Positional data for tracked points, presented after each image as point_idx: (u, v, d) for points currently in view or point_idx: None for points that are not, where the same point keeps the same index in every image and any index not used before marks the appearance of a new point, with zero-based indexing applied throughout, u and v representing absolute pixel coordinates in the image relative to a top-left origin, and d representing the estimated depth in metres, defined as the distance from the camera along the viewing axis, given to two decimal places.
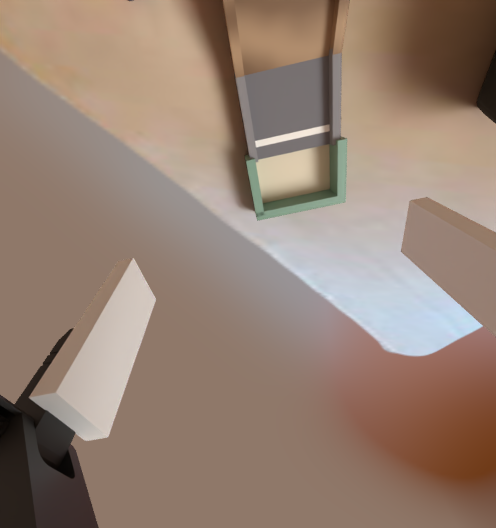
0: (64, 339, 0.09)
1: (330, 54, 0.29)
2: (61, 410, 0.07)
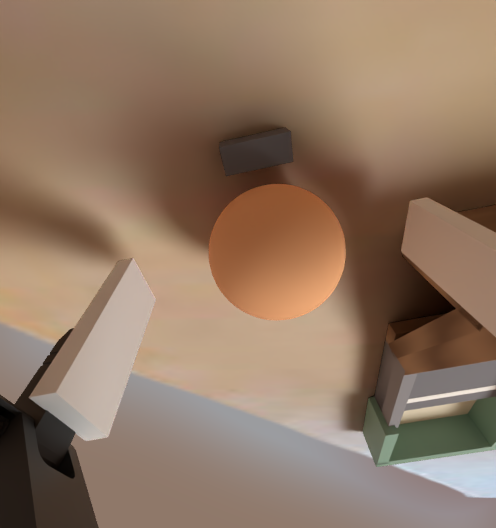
0: (64, 339, 0.09)
1: None
2: (61, 410, 0.07)
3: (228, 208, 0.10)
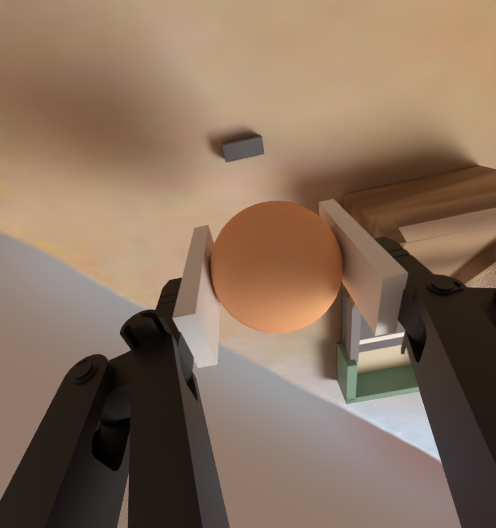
0: (168, 287, 0.11)
1: None
2: (192, 332, 0.08)
3: (229, 225, 0.11)
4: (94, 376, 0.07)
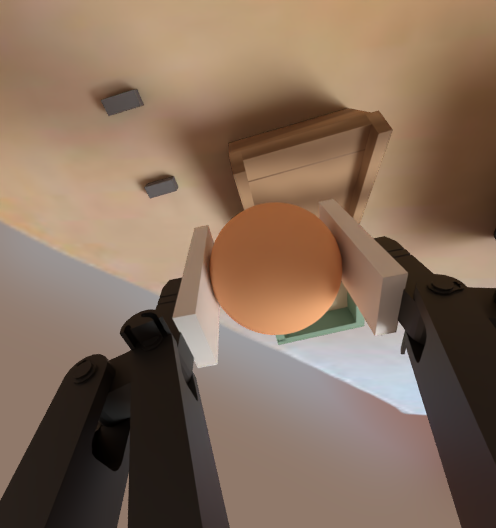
0: (168, 287, 0.11)
1: None
2: (192, 332, 0.08)
3: (228, 226, 0.10)
4: (94, 376, 0.07)
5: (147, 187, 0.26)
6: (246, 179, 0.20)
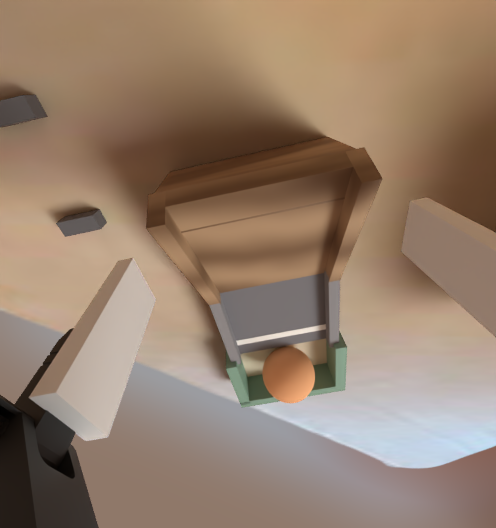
0: (64, 339, 0.09)
1: (326, 276, 0.23)
2: (61, 410, 0.07)
3: (275, 384, 0.27)
4: None
5: (60, 223, 0.20)
6: (169, 234, 0.14)
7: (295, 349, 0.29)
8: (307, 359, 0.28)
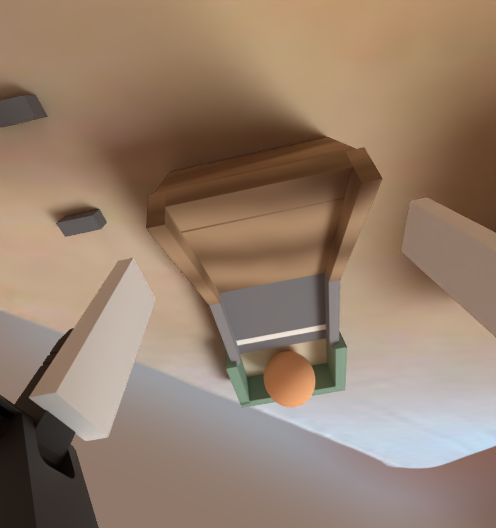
0: (64, 339, 0.09)
1: (326, 276, 0.23)
2: (61, 410, 0.07)
3: (278, 395, 0.27)
4: None
5: (60, 223, 0.20)
6: (169, 234, 0.14)
7: (297, 357, 0.29)
8: (309, 368, 0.29)
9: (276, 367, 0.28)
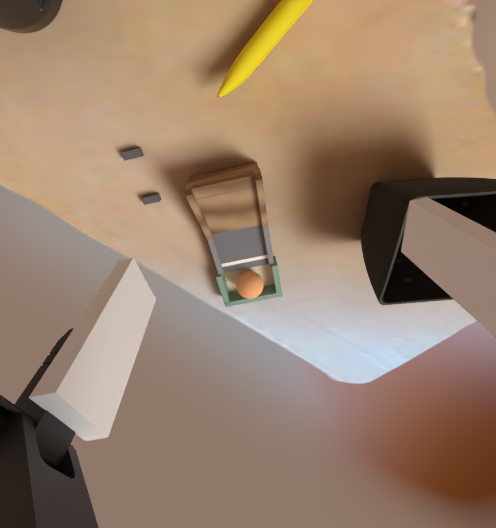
0: (64, 339, 0.09)
1: (262, 225, 0.49)
2: (61, 410, 0.07)
3: (242, 288, 0.53)
4: None
5: (142, 198, 0.46)
6: (192, 198, 0.39)
7: (253, 272, 0.55)
8: (259, 276, 0.54)
9: (241, 275, 0.54)
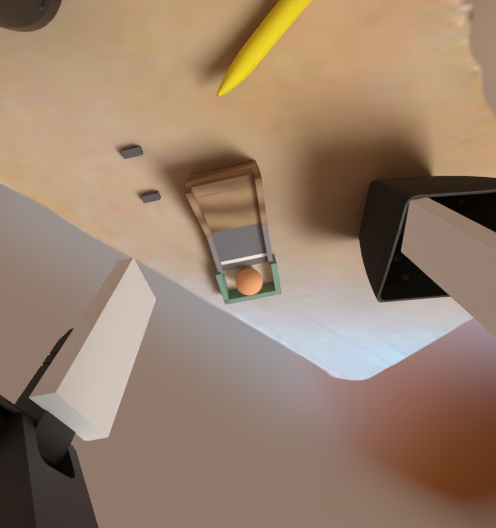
0: (64, 339, 0.09)
1: (261, 223, 0.49)
2: (61, 410, 0.07)
3: (240, 283, 0.53)
4: None
5: (142, 197, 0.46)
6: (192, 196, 0.40)
7: (252, 268, 0.55)
8: (258, 272, 0.55)
9: (241, 271, 0.55)
